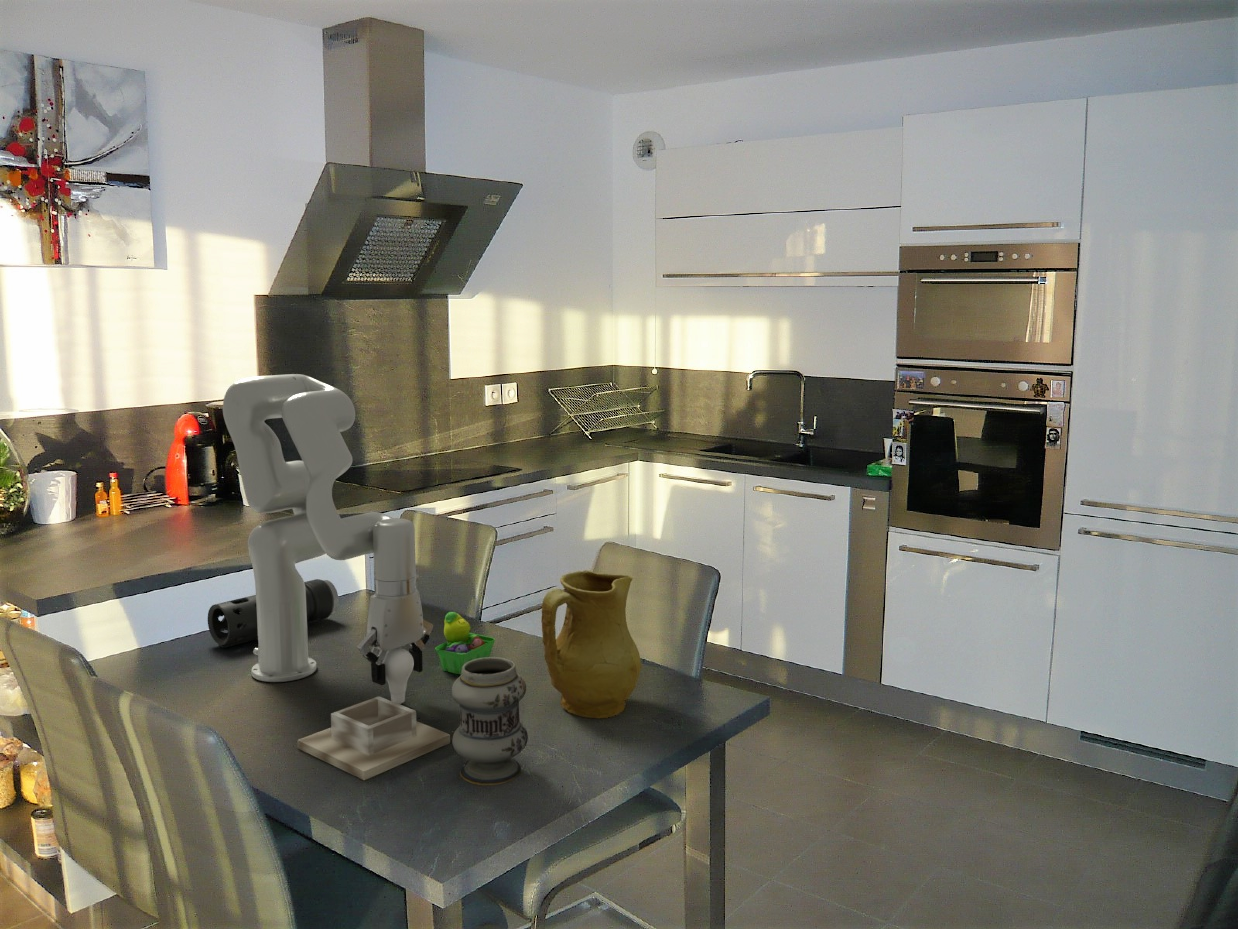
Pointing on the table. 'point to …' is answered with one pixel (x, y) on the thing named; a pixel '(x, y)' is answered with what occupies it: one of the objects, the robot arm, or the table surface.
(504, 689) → the apothecary jar
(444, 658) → the fruit basket
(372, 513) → the robot arm
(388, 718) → the socket
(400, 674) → the lightbulb
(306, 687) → the table surface
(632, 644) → the pitcher
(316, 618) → the muzzle brake
